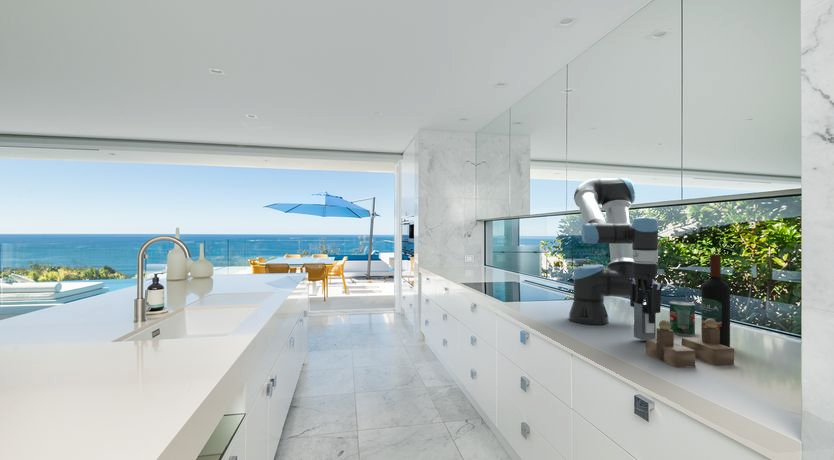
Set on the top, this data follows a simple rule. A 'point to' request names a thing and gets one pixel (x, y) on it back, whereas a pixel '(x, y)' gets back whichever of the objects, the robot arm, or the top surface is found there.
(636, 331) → the grey brushed pillar
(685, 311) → the canned tomato
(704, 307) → the wine bottle
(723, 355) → the pair of knobbed blocks
